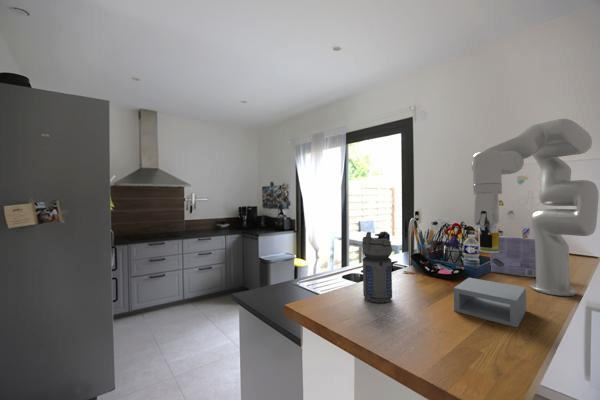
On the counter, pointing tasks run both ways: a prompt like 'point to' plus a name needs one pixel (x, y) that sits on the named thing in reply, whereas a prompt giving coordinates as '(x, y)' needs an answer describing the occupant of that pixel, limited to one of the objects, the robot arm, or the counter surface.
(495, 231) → the supplement bottle
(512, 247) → the cake pan box
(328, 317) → the counter surface
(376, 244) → the beverage bottle
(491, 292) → the shelf unit
